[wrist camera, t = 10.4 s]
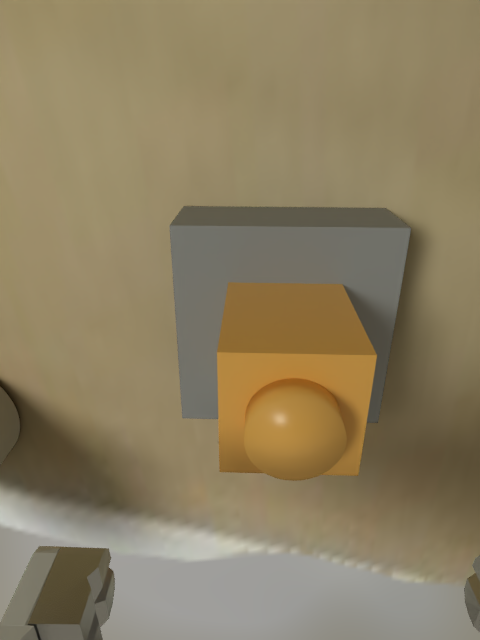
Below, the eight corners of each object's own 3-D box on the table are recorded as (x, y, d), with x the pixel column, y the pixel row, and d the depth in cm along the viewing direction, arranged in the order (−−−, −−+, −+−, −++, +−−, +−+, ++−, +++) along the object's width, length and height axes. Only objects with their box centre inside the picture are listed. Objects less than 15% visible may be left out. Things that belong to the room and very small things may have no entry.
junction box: (192, 375, 26) (166, 485, 19) (183, 206, 22) (145, 258, 14) (361, 379, 26) (404, 491, 18) (385, 208, 22) (455, 262, 14)
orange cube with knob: (229, 378, 22) (217, 498, 15) (228, 282, 20) (213, 372, 13) (331, 380, 22) (365, 502, 15) (342, 283, 19) (387, 376, 13)
